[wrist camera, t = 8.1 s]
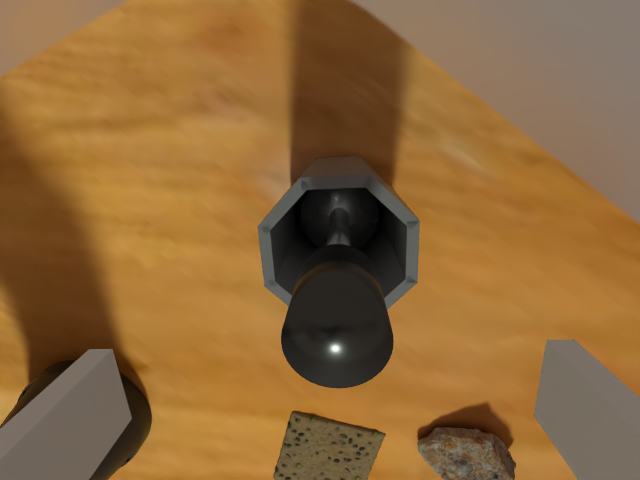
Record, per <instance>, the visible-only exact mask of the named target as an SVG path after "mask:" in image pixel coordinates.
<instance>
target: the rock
mask: <svg viewBox="0 0 640 480" xmlns="http://www.w3.org/2000/svg"><path fill="white" fill-rule="evenodd" d="M418 451H419V453H420V454H421V455H422V456H423V458H424V460H425V461H426V463H427V464H428V465H429V466H430V467H431V468H432V469H433V470H434V471H435V472H437V473H438V474H439V475H440V477H441V478H443V479H444V480H514V479H515V474H514V469H515V467H516V463H515V462H514V461H513V459H512V457H511V454H510V452H509V451H508V449H507V447H506V446H505V444H504V443H503V442H502V440H501V439H500V438H499V437H498V436H496V435H494V434H492V433H486V432H481V431H480V430H478V429H476V428H475V429H465V428H449V427H446V428H443V427H438V428H435V429H434V430H433V431H432V433H431V434H429V435H428V436H427V437H424V438H422V439H420V440H419V441H418Z"/></svg>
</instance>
